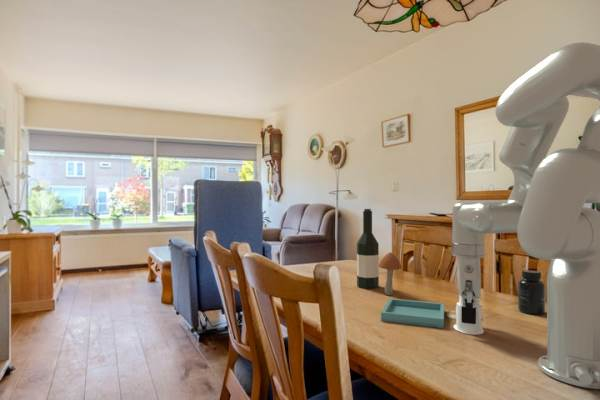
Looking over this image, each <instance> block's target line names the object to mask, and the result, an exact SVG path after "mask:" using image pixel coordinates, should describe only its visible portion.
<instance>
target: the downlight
mask: <svg viewBox="0 0 600 400" xmlns="http://www.w3.org/2000/svg"><path fill="white" fill-rule="evenodd" d="M472 295H473V294H472ZM458 299H459V301H457V302H456V306H455V311H456V320H455V321H456V322H455V324H453V329H454V330H455V331H457V332H459V333H462V334H466V335H472V336H473V335H482V334H484V331H485V330H484V329H483V321H482V311H483V308H482V307H483V306H482V305H481V304H480V298H478V297H476V296H475V307H476V324H469V323H462V321H461V314H462V306H463V297H461V296H460V295H459V298H458Z"/></svg>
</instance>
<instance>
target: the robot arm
mask: <svg viewBox="0 0 600 400" xmlns="http://www.w3.org/2000/svg"><path fill="white" fill-rule="evenodd" d="M568 96H575V97H581V98H582V97H583V98H589V99H594V100H598V101H600V45H598V44H595V43H590V42H573V43H570V44H566V45H564V46H562V47H559V48H557V50H555V51H554V52H552V53H551V54H549V55H548V56H546V57H545V58H543V59H542V60H541V61H540V62H538V63H537V64H536V65H534V66H533V67H532V68H531V69H529V70H527V71H526V72H525V73H524V74H522V75H521V76H520V77H518V78H517V79H516V80H515V81H513V83H511V84H510V85H509V86H507V88H506V89H504V91H503V92H502V93H501V95H500V96H499V98H498V100H497V103H496V105H495V117H496V120H497V121H498V122H499V123H500V124H502V125H503V126H506V127H510V129H509V131H508V133H507V136H506V138H505V141H504V143H503V145H502V147H501V149H500V152H499V153H498V155H499V156H498V158H499V161H500V162H501V163H502V164H503V165H504V166H506V167H507V168H509V170H511V172H512V174H513V180H514V181H513V182H514V183H513V187H512V191H511V193H510V194H509V196H508V198H507V200H506V201H505V200H504V201H480V202H475V201H473V202H472V201H465V202H464V201H461V202H460V201H459V202H455V203H454V204H453V206H452V215H451V216H452V221H451V222H452V225H451V226H452V228H451V229H452V231H451V232H452V235H451V236H452V237H451V240H452V243H451V245H452V246H451V248H452V250H451V251H452V252H451V253H452V256H454V257H456V259H457V261H456V263H457V264H456V266H457V268H456V270H457V273H456V275H457V285H458V286H457V287H458V292H459V297H460V296H461V297H463V306H462V314H461V321H462V323H469V324H476V307H475V296H476V297H478V298H479V299H480V298H482V281H481V280H482V273H481V271H482V269H481V267H482V266H481V259H484V258H485V247H486V246H485V245H486V243H485V240H486V239H485V235H487V234H488V235H492V234H505V233H506V234H508V233H510V234H511V233H516V234H517V240H518V243H519V246H520V247H521V248H522V250H523V251H524V252H525V253H526V254H528V255H529V256H531V257H533V258H535V259H538V260H542V261H543V260H544V261H545V260H546V261H547V260H548V261H550V264H549V267H548V271H547V277H546V279H547V280H546V318H547V319H546V321H547V322H546V329H547V330H546V343H547V344H546V345H547V346H546V348H547V351H546V354H545V355H542V356H540V357H539V358H538V360H537V365H538V368H539V370H540V371H541V372H543V373H544V374H545V375H547V376H548V377H551V378H553V379H555V380H556V381H560V382H563V383H566V384H569V385H572V386H576V387H580V388H585V389H593V390H600V211H598V210H597V209H593V208H590V207H585V204H598V203H599V204H600V105H598V107H597V108H596V109H595V110H594V111H593V113H592V114H591V115H590V117H589V118H588V120H587V122H586V123H585V126H584V130H583V133H582V136H581V138H580V141H579V143H578V146H577V148H576V147H575V148H574V147H568V148H562V149H558V150H555V151H553V152H551V153H550V154H549V153H548V152H549V151H550V149H551V147H552V145H553V143H554V141H555V139H556V138H557V135H558V133H559V131H560V128H561V126H562V124H563V122H564V121H565V118H566V117H567V114H568V112H569V107H570V102H569V98H568ZM472 294H473V295H472Z"/></svg>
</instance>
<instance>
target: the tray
mask: <svg viewBox="0 0 600 400" xmlns="http://www.w3.org/2000/svg"><path fill="white" fill-rule="evenodd" d="M380 314H381V315H380V321H381V322H389V323H396V324H397V323H398V324H404V325H415V326H423V327H431V328H440V329H444V326H445V325H444V323H445V303H443V302H441V303H439V302H432V301H431V302H430V301H423V300H422V301H421V300H410V299H399V298H391V297H390V298H389V299H388V301H387V302H386V304H385V306H384V307H383V309H382V311H381V312H380Z"/></svg>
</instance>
